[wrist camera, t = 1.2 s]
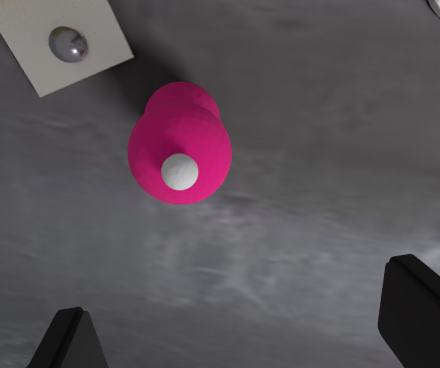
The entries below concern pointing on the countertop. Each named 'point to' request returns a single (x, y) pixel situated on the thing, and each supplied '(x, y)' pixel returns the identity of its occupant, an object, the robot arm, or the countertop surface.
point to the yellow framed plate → (63, 40)
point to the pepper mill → (180, 145)
